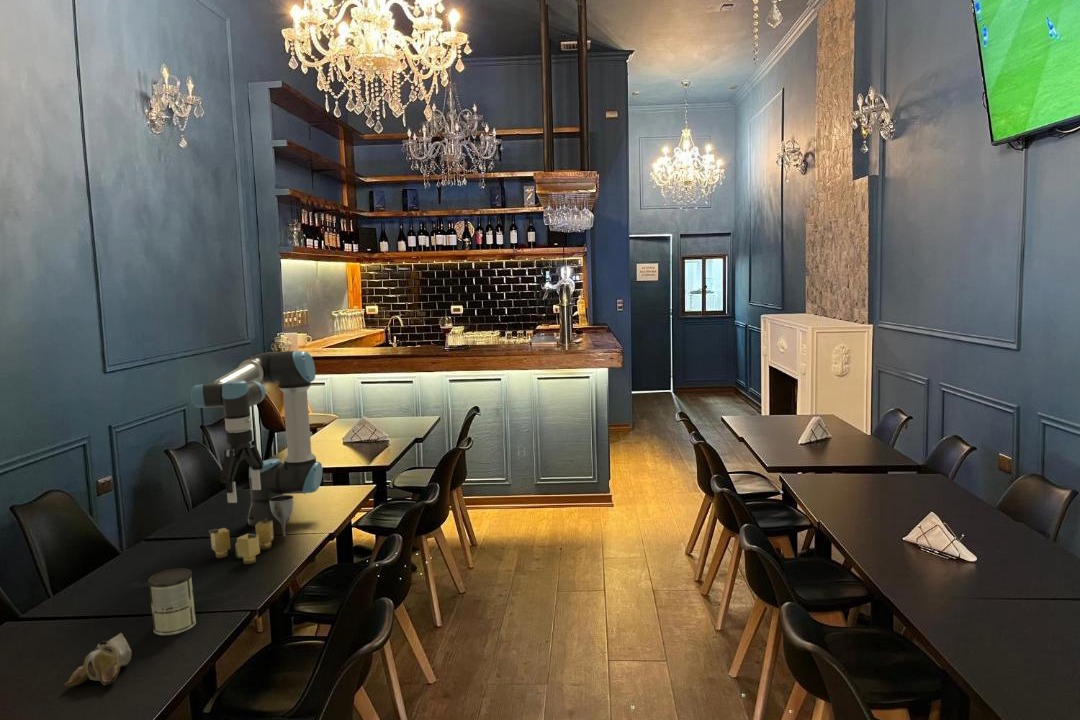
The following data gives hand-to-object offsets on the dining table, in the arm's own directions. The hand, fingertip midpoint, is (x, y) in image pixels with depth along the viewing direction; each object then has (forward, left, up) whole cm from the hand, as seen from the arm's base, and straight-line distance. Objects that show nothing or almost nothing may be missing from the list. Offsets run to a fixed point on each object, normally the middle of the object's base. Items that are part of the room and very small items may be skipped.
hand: (244, 495), depth 245 cm
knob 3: (-13, 0, -22) cm, 25 cm away
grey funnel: (-25, +2, -23) cm, 35 cm away
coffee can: (+44, -3, -23) cm, 49 cm away
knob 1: (-6, -12, -22) cm, 26 cm away
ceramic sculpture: (+69, -7, -23) cm, 73 cm away
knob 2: (0, 0, -22) cm, 22 cm away
